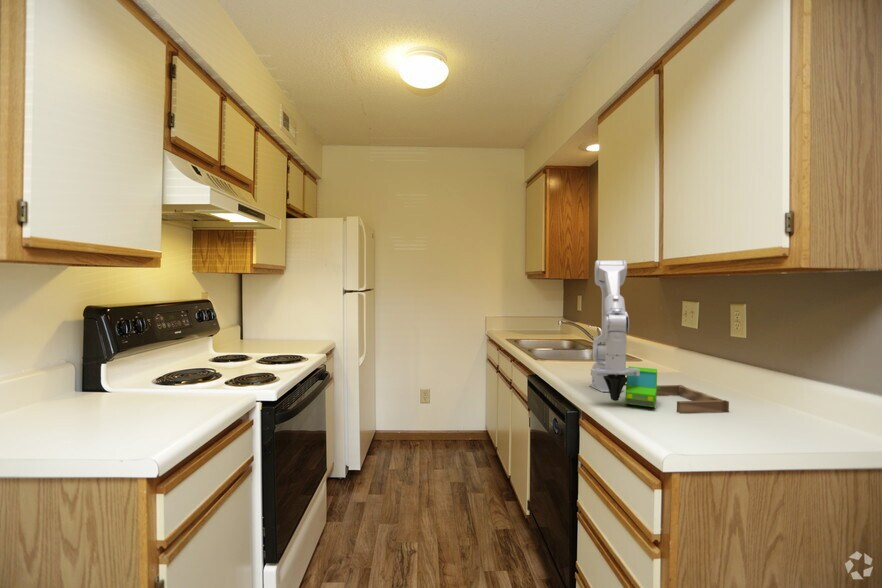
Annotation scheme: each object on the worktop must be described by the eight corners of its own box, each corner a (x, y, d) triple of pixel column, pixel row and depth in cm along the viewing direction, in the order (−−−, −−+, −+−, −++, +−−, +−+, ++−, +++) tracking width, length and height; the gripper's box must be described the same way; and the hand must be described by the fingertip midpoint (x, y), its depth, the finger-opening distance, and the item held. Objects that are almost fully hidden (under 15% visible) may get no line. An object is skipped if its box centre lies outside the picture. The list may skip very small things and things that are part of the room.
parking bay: (638, 395, 141) (638, 385, 141) (680, 394, 143) (681, 385, 143) (680, 413, 121) (680, 402, 121) (728, 411, 123) (729, 401, 123)
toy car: (620, 407, 127) (621, 373, 127) (624, 397, 139) (625, 366, 139) (659, 412, 122) (660, 377, 122) (660, 401, 134) (661, 369, 134)
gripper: (599, 357, 124) (598, 404, 125) (646, 356, 126) (645, 403, 126) (587, 353, 131) (586, 397, 132) (632, 352, 133) (631, 396, 133)
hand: (614, 399), depth 129 cm, fingers closed
